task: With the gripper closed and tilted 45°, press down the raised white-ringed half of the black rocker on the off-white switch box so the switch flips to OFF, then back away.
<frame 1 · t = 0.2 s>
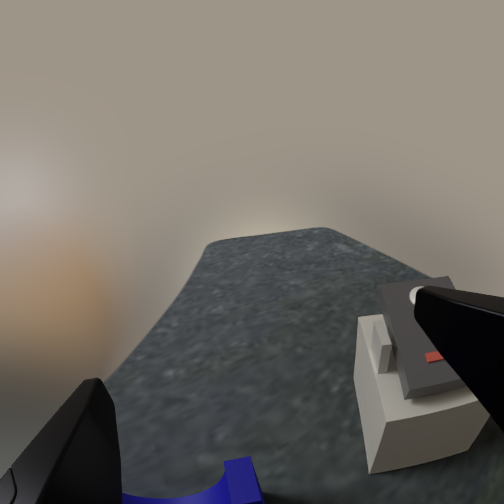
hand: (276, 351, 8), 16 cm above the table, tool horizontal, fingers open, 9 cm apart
rocker: (432, 330, 17), point 9 cm above the table, hinge at -12.0°
switch box: (408, 414, 21), on the table
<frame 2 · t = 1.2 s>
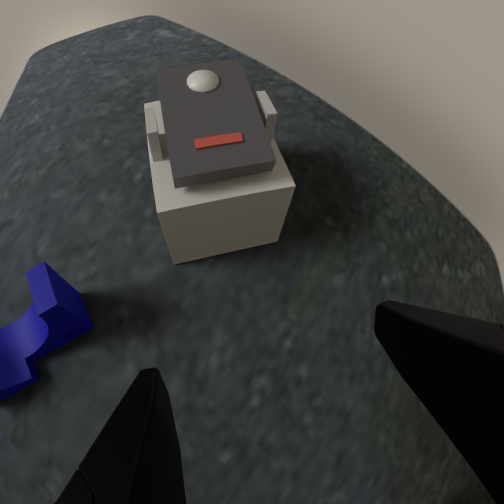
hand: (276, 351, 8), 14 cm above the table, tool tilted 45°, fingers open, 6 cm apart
rocker: (209, 114, 18), point 9 cm above the table, hinge at -12.0°
switch box: (211, 198, 26), on the table
blue notched block: (33, 353, 19), on the table
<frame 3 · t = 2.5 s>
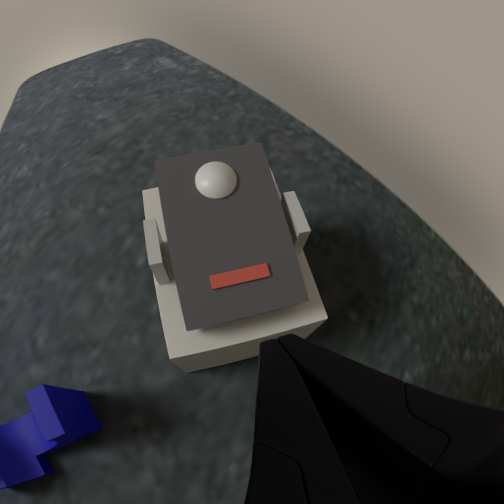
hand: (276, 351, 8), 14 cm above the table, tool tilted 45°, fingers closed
rocker: (226, 229, 15), point 9 cm above the table, hinge at -12.0°
switch box: (225, 293, 23), on the table
blue notched block: (42, 445, 17), on the table
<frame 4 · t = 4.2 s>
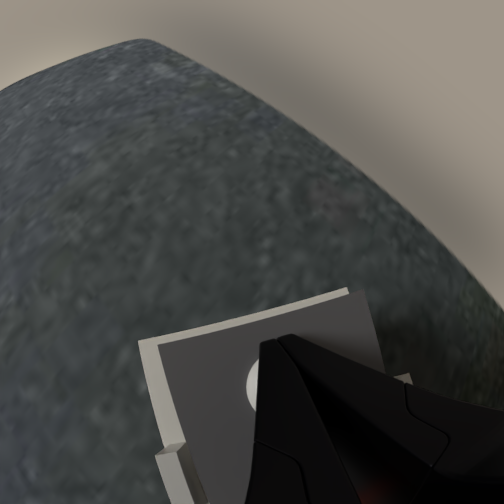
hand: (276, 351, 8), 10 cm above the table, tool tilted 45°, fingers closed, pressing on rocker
rocker: (302, 458, 7), point 9 cm above the table, hinge at -11.3°, touching gripper
switch box: (264, 430, 15), on the table
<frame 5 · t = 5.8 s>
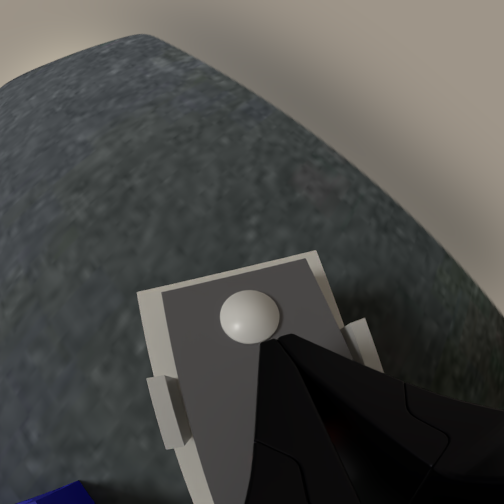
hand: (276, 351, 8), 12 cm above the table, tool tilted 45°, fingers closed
rocker: (270, 386, 10), point 9 cm above the table, hinge at 13.4°
switch box: (248, 388, 18), on the table
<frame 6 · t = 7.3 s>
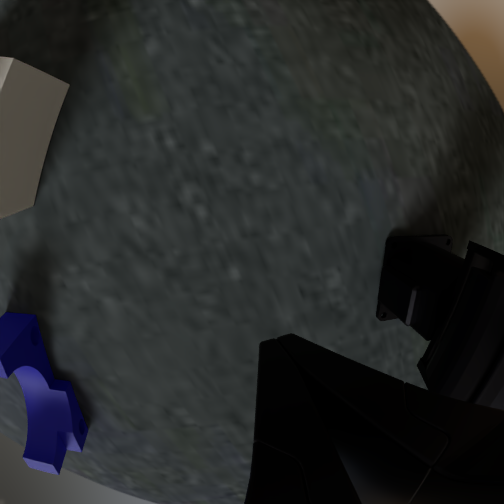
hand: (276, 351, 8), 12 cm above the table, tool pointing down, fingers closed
blue notched block: (48, 375, 21), on the table
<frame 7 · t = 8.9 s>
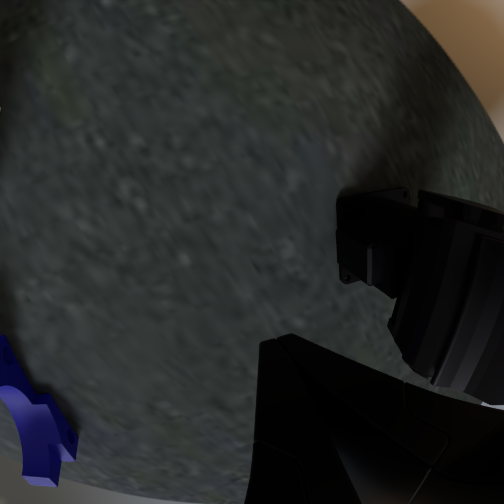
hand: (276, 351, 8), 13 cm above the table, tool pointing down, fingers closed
blue notched block: (30, 391, 20), on the table
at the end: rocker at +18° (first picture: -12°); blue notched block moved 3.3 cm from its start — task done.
